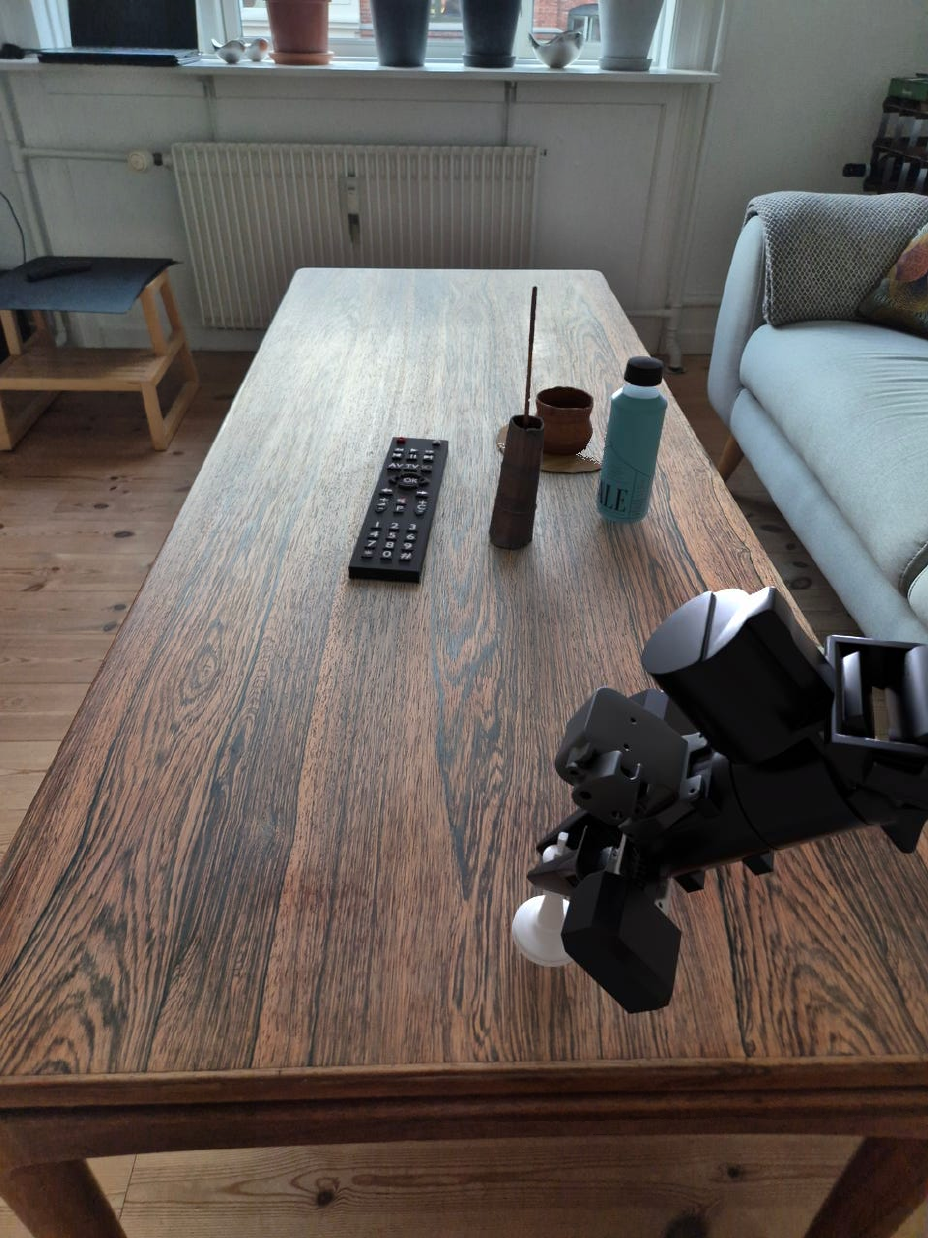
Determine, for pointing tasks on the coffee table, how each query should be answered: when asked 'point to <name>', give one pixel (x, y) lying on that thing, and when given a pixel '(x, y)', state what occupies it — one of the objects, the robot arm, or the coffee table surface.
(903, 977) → the coffee table surface
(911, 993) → the coffee table surface
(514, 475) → the butter churn
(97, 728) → the coffee table surface
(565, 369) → the coffee table surface
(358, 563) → the remote control
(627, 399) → the beverage bottle
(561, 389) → the ceramic pot
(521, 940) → the chess piece
